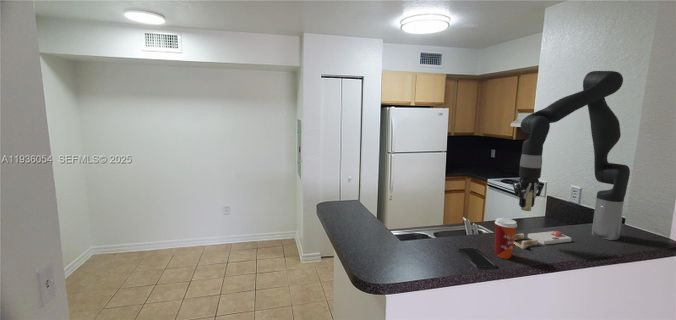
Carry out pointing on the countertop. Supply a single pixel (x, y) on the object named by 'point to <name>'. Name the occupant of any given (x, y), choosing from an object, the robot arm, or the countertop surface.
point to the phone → (477, 258)
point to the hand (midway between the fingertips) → (526, 206)
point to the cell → (528, 201)
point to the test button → (557, 233)
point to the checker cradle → (548, 238)
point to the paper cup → (504, 237)
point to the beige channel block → (524, 243)
